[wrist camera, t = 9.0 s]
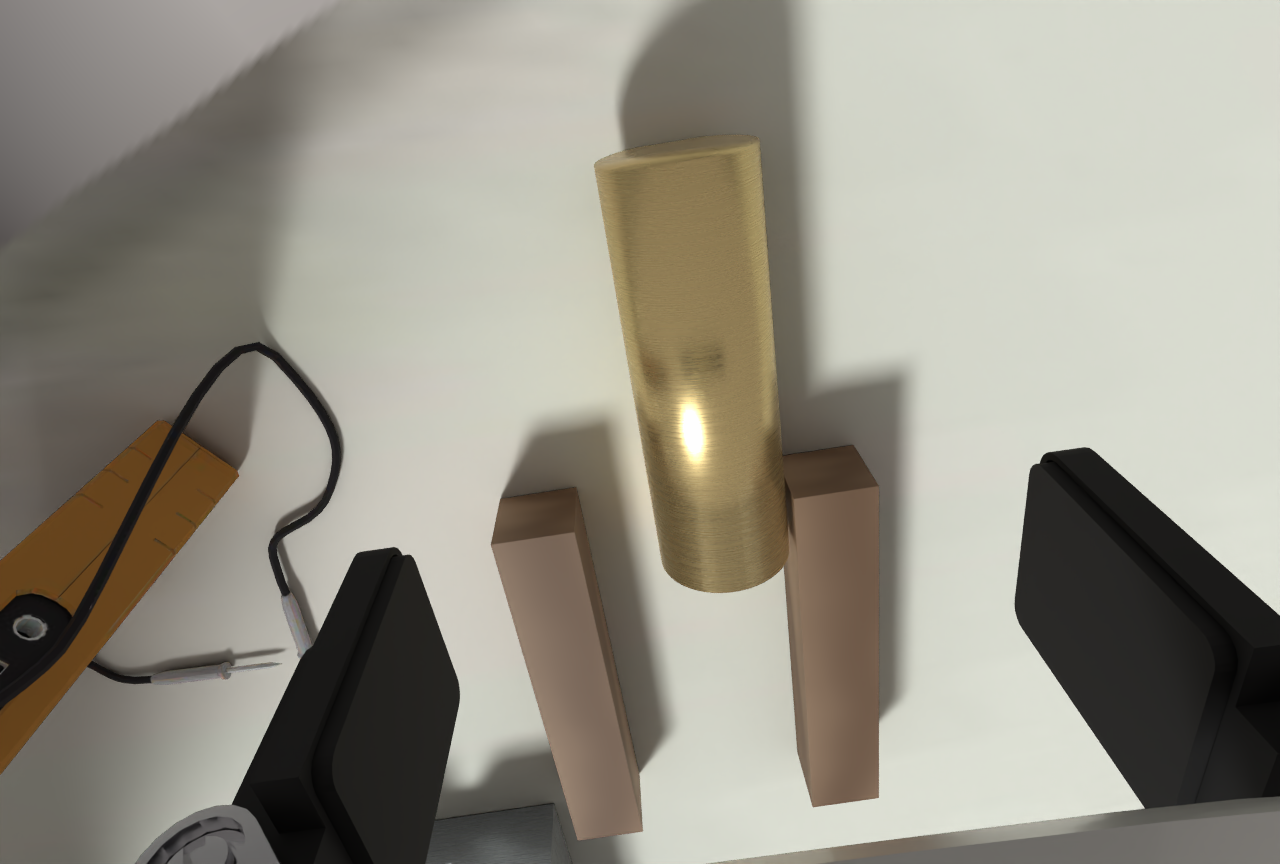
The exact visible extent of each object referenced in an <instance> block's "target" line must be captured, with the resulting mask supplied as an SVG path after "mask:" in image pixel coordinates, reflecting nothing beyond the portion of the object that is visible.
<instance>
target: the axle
mask: <svg viewBox="0 0 1280 864" xmlns="http://www.w3.org/2000/svg"><path fill="white" fill-rule="evenodd" d="M594 168H595V174H596V180H597V186H598V192H599V197H600V203H601V209H602V215H603V221H604V227H605V232H606V238H607V244H608V250H609V256H610V262H611V268H612V273H613V279H614V285H615V291H616V297H617V303H618V308H619V314H620V320H621V326H622V332H623V338H624V343H625V349H626V355H627V361H628V367H629V373H630V378H631V384H632V390H633V396H634V402H635V408H636V414H637V419H638V425H639V431H640V437H641V443H642V449H643V454H644V460H645V466H646V472H647V478H648V484H649V489H650V495H651V501H652V507H653V513H654V519H655V525H656V530H657V536H658V542H659V548H660V554H661V560H662V564H663V567H664V569H665V571H666V572H667V573H668V575H669V576H670V577H671V578H673V579H674V580H675V581H676V582H678V583H680V584H681V585H684V586H686V587H688V588H691V589H694V590H698V591H703V592H711V593H727V592H735V591H741V590H745V589H749V588H752V587H755V586H757V585H759V584H762V583H764V582H765V581H767V580H769V579H770V578H772V577H773V576H774V575H776V574H777V573H778V572H779V571H780V570H781V569H782V567H783V566H784V565H785V563H786V561H787V559H788V555H789V536H788V523H787V509H786V495H785V482H784V468H783V454H782V440H781V427H780V413H779V399H778V386H777V372H776V358H775V344H774V331H773V317H772V303H771V289H770V276H769V262H768V248H767V235H766V221H765V207H764V193H763V180H762V166H761V152H760V140H759V138H757V137H755V136H750V135H714V136H703V137H697V138H691V139H685V140H679V141H673V142H667V143H661V144H655V145H649V146H643V147H637V148H633V149H629V150H625V151H621V152H618V153H615V154H612V155H609V156H607V157H604V158H602V159H600V160H598V161H597V162H596V163H595V164H594Z"/></svg>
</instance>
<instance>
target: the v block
mask: <svg viewBox="0 0 1280 864" xmlns="http://www.w3.org/2000/svg"><path fill="white" fill-rule="evenodd" d="M426 864H572V861H571V858H570V855H569V852H568V848H567V845H566V842H565V839H564V835H563V832H562V829H561V825H560V822H559V819H558V816H557V812H556V809H555V806H554V804H547V805H540V806H533V807H526V808H519V809H512V810H505V811H498V812H491V813H484V814H477V815H470V816H463V817H456V818H449V819H442V820H435V821H434V826H433V830H432V835H431V840H430V845H429V849H428V854H427V859H426Z"/></svg>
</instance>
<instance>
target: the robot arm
mask: <svg viewBox="0 0 1280 864" xmlns="http://www.w3.org/2000/svg"><path fill="white" fill-rule="evenodd" d="M1015 612H1016V616H1017V619H1018V621H1019V624H1020V626H1021V627H1022V629H1023V630H1024V632H1025V633H1026V635H1027V636H1028V638H1029V639H1030V641H1031V642H1032V644H1033V645H1034V646H1035V648H1036V649H1037V651H1038V652H1039V654H1040V655H1041V657H1042V658H1043V660H1044V661H1045V663H1046V664H1047V666H1048V667H1049V668H1050V670H1051V671H1052V673H1053V674H1054V676H1055V677H1056V679H1057V680H1058V682H1059V683H1060V685H1061V686H1062V687H1063V689H1064V690H1065V692H1066V693H1067V695H1068V696H1069V698H1070V699H1071V701H1072V702H1073V704H1074V705H1075V707H1076V708H1077V709H1078V711H1079V712H1080V714H1081V715H1082V717H1083V718H1084V720H1085V721H1086V723H1087V724H1088V726H1089V727H1090V728H1091V730H1092V731H1093V733H1094V734H1095V736H1096V737H1097V739H1098V740H1099V742H1100V743H1101V745H1102V746H1103V748H1104V749H1105V750H1106V752H1107V753H1108V755H1109V756H1110V758H1111V759H1112V761H1113V762H1114V764H1115V765H1116V767H1117V768H1118V769H1119V771H1120V772H1121V774H1122V775H1123V777H1124V778H1125V780H1126V781H1127V783H1128V784H1129V786H1130V787H1131V788H1132V790H1133V791H1134V793H1135V794H1136V796H1137V797H1138V799H1139V800H1140V802H1141V803H1142V805H1143V806H1144V808H1145V809H1141V810H1131V811H1122V812H1112V813H1104V814H1096V815H1088V816H1080V817H1072V818H1064V819H1056V820H1047V821H1039V822H1031V823H1023V824H1015V825H1007V826H999V827H991V828H982V829H974V830H966V831H958V832H950V833H942V834H934V835H926V836H918V837H910V838H902V839H894V840H886V841H878V842H871V843H863V844H855V845H847V846H839V847H832V848H824V849H816V850H808V851H800V852H793V853H785V854H777V855H769V856H762V857H754V858H746V859H739V860H731V861H723V862H715V863H708V864H1280V615H1278V614H1277V613H1276V612H1275V611H1274V610H1273V609H1272V608H1271V607H1269V606H1268V605H1267V604H1266V603H1265V602H1264V601H1263V600H1262V599H1260V598H1259V597H1258V596H1257V595H1256V594H1255V593H1254V592H1252V591H1251V590H1250V589H1249V588H1248V587H1247V586H1246V585H1245V584H1243V583H1242V582H1241V581H1240V580H1239V579H1238V578H1237V577H1236V576H1234V575H1233V574H1232V573H1231V572H1230V571H1229V570H1228V569H1227V568H1225V567H1224V566H1223V565H1222V564H1221V563H1220V562H1219V561H1218V560H1216V559H1215V558H1214V557H1213V556H1212V555H1211V554H1210V553H1209V552H1207V551H1206V550H1205V549H1204V548H1203V547H1202V546H1201V545H1199V544H1198V543H1197V542H1196V541H1195V540H1194V539H1193V538H1192V537H1190V536H1189V535H1188V534H1187V533H1186V532H1185V531H1184V530H1183V529H1181V528H1180V527H1179V526H1178V525H1177V524H1176V523H1175V522H1174V521H1172V520H1171V519H1170V518H1169V517H1168V516H1167V515H1166V514H1165V513H1163V512H1162V511H1161V510H1160V509H1159V508H1158V507H1157V506H1155V505H1154V504H1153V503H1152V502H1151V501H1150V500H1149V499H1148V498H1146V497H1145V496H1144V495H1143V494H1142V493H1141V492H1140V491H1139V490H1137V489H1136V488H1135V487H1134V486H1133V485H1132V484H1131V483H1130V482H1128V481H1127V480H1126V479H1125V478H1124V477H1123V476H1122V475H1121V474H1119V473H1118V472H1117V471H1116V470H1115V469H1114V468H1113V467H1111V466H1110V465H1109V464H1108V463H1107V462H1106V461H1105V460H1104V459H1102V458H1101V457H1100V456H1099V455H1098V454H1097V453H1096V452H1095V451H1093V450H1092V449H1090V448H1085V447H1083V448H1076V449H1069V450H1062V451H1056V452H1049V453H1046V454H1044V455H1043V457H1042V459H1041V461H1040V464H1035V465H1033V466H1032V468H1031V469H1030V474H1029V482H1028V490H1027V499H1026V508H1025V516H1024V525H1023V533H1022V542H1021V551H1020V559H1019V568H1018V577H1017V585H1016V594H1015ZM459 701H460V689H459V683H458V679H457V676H456V673H455V670H454V668H453V665H452V662H451V659H450V657H449V654H448V651H447V648H446V645H445V643H444V640H443V637H442V634H441V632H440V629H439V626H438V623H437V621H436V618H435V615H434V612H433V609H432V607H431V604H430V601H429V598H428V596H427V593H426V590H425V587H424V585H423V582H422V579H421V576H420V574H419V571H418V568H417V565H416V562H415V560H414V558H413V557H412V556H411V555H403V556H402V553H401V552H400V550H399V549H398V548H395V547H392V548H385V549H378V550H371V551H364V552H359V553H357V554H356V556H355V557H354V559H353V561H352V563H351V565H350V567H349V570H348V572H347V574H346V576H345V578H344V580H343V582H342V585H341V587H340V589H339V591H338V593H337V595H336V598H335V600H334V602H333V604H332V606H331V608H330V611H329V613H328V615H327V617H326V619H325V621H324V623H323V626H322V628H321V630H320V632H319V634H318V636H317V639H316V641H315V643H314V645H313V646H312V647H310V648H309V649H307V650H306V651H305V653H304V654H303V656H302V657H301V659H300V661H299V663H298V665H297V668H296V670H295V672H294V674H293V676H292V678H291V680H290V682H289V684H288V687H287V689H286V691H285V693H284V695H283V697H282V699H281V701H280V703H279V706H278V708H277V710H276V712H275V714H274V716H273V718H272V720H271V722H270V725H269V727H268V729H267V731H266V733H265V735H264V737H263V739H262V741H261V744H260V746H259V748H258V750H257V752H256V754H255V756H254V758H253V760H252V763H251V765H250V767H249V769H248V771H247V773H246V775H245V777H244V779H243V782H242V784H241V786H240V788H239V790H238V792H237V794H236V796H235V798H234V801H233V803H232V805H221V806H214V807H211V808H207V809H204V810H201V811H198V812H195V813H194V814H192V815H190V816H188V817H186V818H184V819H183V820H181V821H179V822H177V823H175V824H174V825H173V826H172V827H170V828H169V829H168V830H167V831H165V832H164V833H163V834H161V835H160V836H159V837H158V838H156V839H155V841H154V842H153V843H152V844H151V845H150V846H149V847H148V848H147V849H146V850H145V851H144V852H143V854H142V855H141V856H140V857H139V859H138V860H137V862H136V863H135V864H426V859H427V854H428V849H429V845H430V840H431V835H432V830H433V826H434V821H435V816H436V812H437V807H438V802H439V797H440V793H441V788H442V783H443V778H444V774H445V769H446V764H447V760H448V755H449V750H450V745H451V741H452V736H453V731H454V726H455V722H456V717H457V712H458V708H459Z"/></svg>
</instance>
